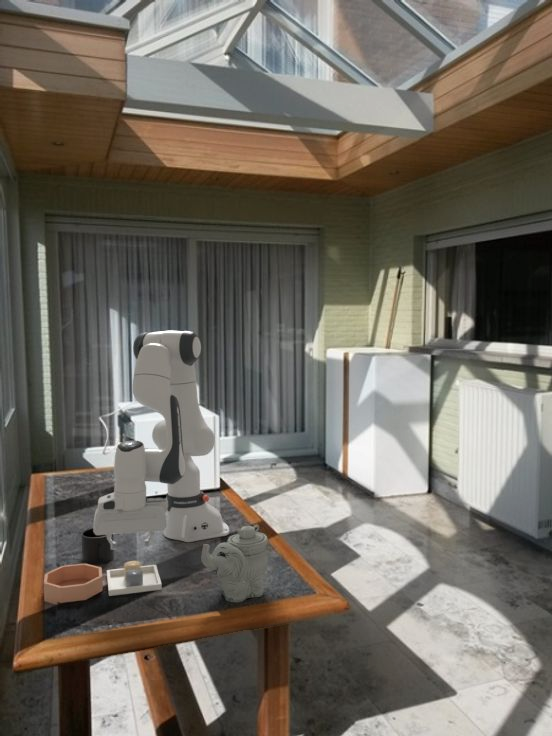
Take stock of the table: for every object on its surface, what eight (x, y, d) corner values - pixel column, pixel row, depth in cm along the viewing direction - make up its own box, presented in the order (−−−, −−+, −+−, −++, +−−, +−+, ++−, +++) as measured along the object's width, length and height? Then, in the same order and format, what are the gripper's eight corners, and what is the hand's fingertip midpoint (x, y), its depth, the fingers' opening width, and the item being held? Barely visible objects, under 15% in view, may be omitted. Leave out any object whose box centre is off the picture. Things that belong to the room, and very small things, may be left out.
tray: (156, 572, 191) (156, 564, 190) (161, 592, 177) (161, 584, 177) (107, 578, 187) (106, 570, 186) (108, 599, 173) (108, 590, 173)
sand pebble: (140, 573, 188) (139, 560, 187) (141, 579, 183) (141, 566, 183) (124, 575, 186) (123, 561, 186) (125, 581, 182) (124, 568, 182)
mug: (85, 572, 191) (84, 542, 190) (80, 557, 202) (79, 529, 201) (117, 567, 195) (116, 538, 194) (111, 553, 206) (110, 525, 205)
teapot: (200, 605, 170) (199, 535, 168) (213, 581, 185) (213, 516, 183) (262, 609, 168) (262, 538, 166) (271, 584, 183) (270, 519, 181)
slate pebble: (142, 582, 182) (141, 568, 181) (143, 589, 177) (143, 575, 177) (125, 584, 180) (125, 570, 180) (126, 591, 176) (126, 577, 176)
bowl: (101, 578, 187) (101, 561, 186) (103, 601, 172) (102, 582, 172) (46, 584, 182) (45, 567, 182) (43, 608, 168) (42, 590, 168)
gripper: (166, 494, 188) (166, 540, 189) (93, 498, 183) (93, 546, 184) (168, 500, 182) (168, 548, 183) (93, 504, 177) (93, 554, 178)
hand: (130, 547), depth 183 cm, fingers open, 8 cm apart
